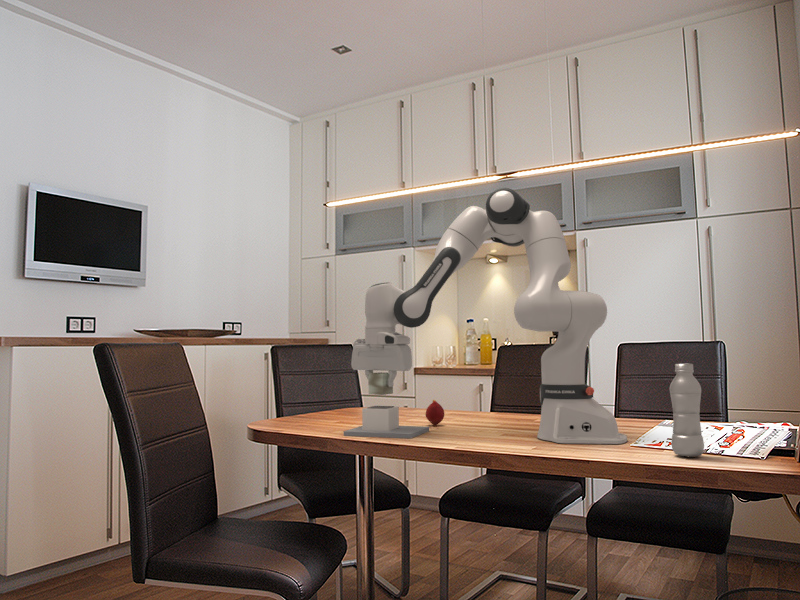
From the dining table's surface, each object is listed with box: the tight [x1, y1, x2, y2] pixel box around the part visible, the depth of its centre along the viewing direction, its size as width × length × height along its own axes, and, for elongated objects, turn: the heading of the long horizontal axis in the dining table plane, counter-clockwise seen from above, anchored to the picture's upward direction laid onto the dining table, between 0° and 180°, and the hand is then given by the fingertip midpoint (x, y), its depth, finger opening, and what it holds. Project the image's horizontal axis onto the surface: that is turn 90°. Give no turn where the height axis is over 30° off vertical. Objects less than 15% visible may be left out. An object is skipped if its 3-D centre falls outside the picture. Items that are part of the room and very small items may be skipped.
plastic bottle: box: [669, 363, 705, 458], centre depth 135 cm, size 6×7×20 cm
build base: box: [343, 405, 430, 439], centre depth 177 cm, size 20×16×7 cm
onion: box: [425, 399, 445, 427], centre depth 193 cm, size 6×6×8 cm
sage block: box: [368, 371, 394, 396], centre depth 179 cm, size 5×5×6 cm
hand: (380, 386), depth 179 cm, fingers closed on sage block, 5 cm apart
